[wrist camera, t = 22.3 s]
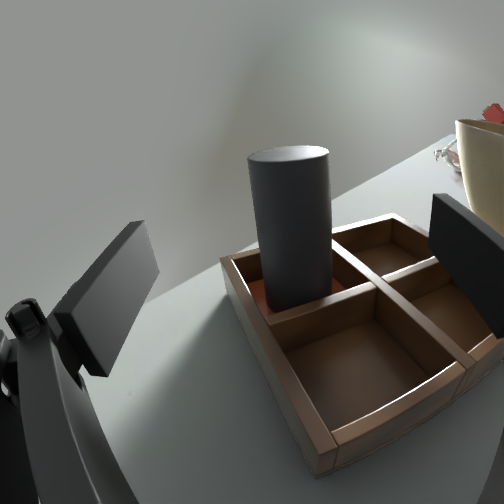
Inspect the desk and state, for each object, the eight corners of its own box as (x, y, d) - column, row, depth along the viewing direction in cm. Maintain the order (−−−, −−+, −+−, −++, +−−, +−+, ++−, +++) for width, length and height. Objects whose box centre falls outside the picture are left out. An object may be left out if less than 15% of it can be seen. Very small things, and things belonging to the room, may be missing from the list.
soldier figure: (488, 177, 47) (452, 160, 45) (473, 187, 52) (437, 172, 49) (478, 146, 49) (442, 127, 47) (464, 157, 54) (428, 140, 52)
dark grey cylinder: (280, 327, 19) (262, 166, 14) (257, 289, 23) (238, 153, 18) (343, 305, 20) (344, 153, 15) (313, 273, 24) (305, 143, 19)
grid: (315, 480, 11) (318, 455, 9) (226, 291, 25) (219, 257, 23) (522, 340, 14) (539, 303, 12) (391, 242, 28) (393, 213, 26)
